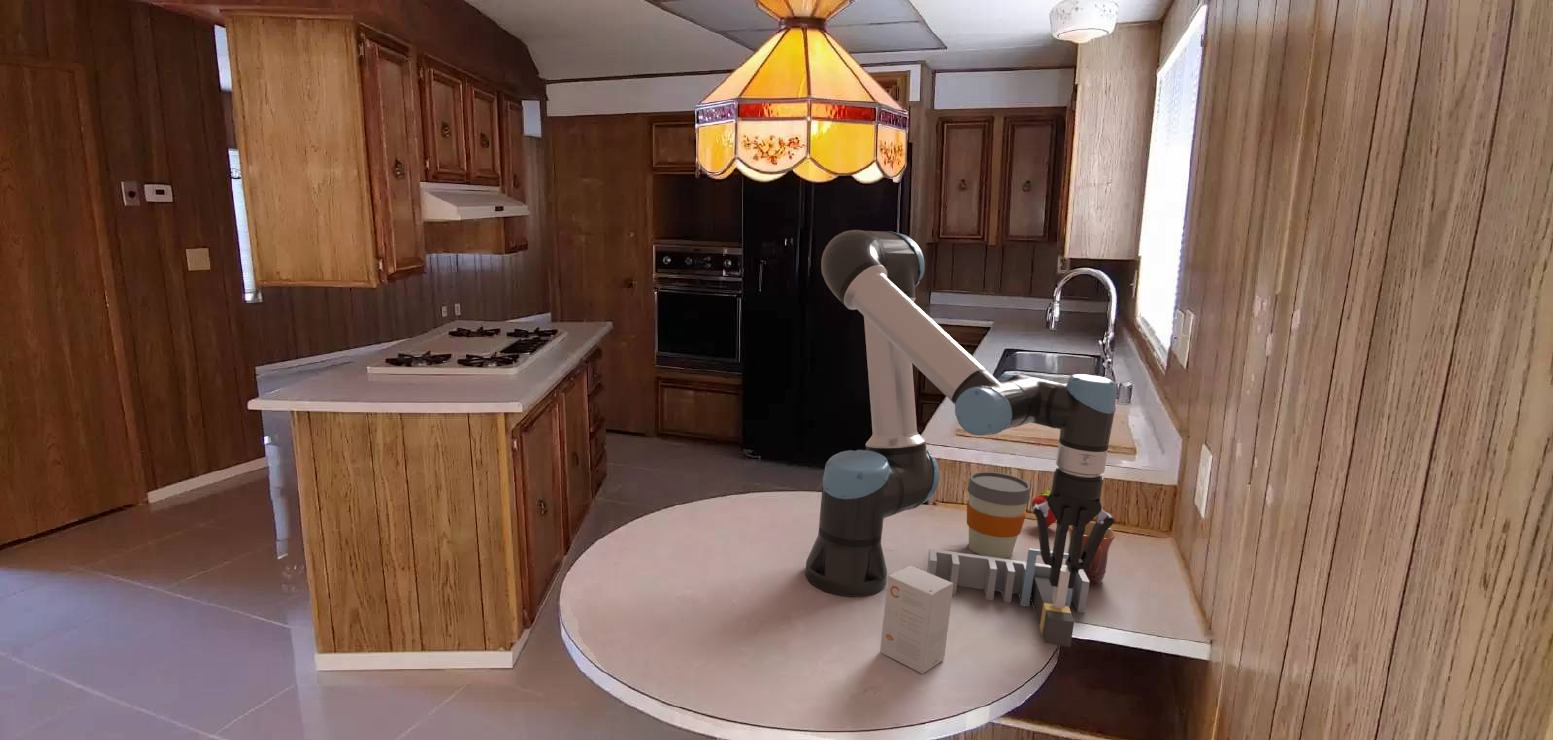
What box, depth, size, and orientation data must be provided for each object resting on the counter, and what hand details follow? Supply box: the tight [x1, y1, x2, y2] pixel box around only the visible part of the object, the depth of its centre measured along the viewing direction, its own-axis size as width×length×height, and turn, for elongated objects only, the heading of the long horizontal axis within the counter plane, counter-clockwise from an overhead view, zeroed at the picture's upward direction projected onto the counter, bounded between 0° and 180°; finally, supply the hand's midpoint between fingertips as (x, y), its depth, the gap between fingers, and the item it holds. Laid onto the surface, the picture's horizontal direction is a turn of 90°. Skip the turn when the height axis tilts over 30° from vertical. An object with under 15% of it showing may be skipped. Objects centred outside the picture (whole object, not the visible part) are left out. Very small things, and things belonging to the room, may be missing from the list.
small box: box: [879, 565, 953, 675], centre depth 123 cm, size 8×6×13 cm
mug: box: [1064, 521, 1117, 586], centre depth 155 cm, size 12×9×10 cm
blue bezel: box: [1019, 547, 1073, 610], centre depth 142 cm, size 8×1×11 cm, turn 81°
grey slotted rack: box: [926, 548, 1090, 614], centre depth 147 cm, size 28×5×6 cm, turn 81°
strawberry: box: [1031, 485, 1057, 529], centre depth 181 cm, size 6×8×10 cm
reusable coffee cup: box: [966, 471, 1031, 559], centre depth 166 cm, size 13×12×15 cm
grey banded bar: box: [1030, 576, 1075, 648], centre depth 138 cm, size 4×16×5 cm, turn 171°
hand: (1058, 604), depth 134 cm, fingers closed
